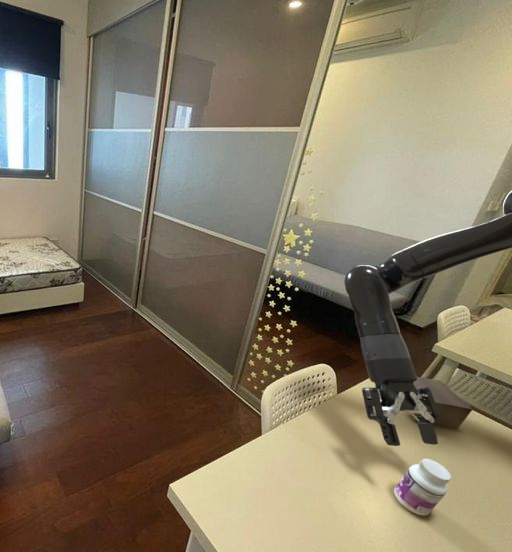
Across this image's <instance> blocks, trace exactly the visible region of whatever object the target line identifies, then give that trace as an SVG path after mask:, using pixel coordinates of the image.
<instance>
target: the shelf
mask: <svg viewBox="0 0 512 552" xmlns="http://www.w3.org/2000/svg"><path fill="white" fill-rule="evenodd" d="M413 384H414V386H415V387H428V388H430V390H431V393H432V395H433V398H434V400H435V403H436V406H437V408H438V411H439V413H440V416H441V418H440V419H436V420H434V423H433V426H434V427H435V426H436V427H441V428H445V429H451V430H456V431H457V430H458V429H459V428H460V427H461V426H462V424H463V423H464V422H465V420H466V419H467V418H468V417H469V415H470V414H471V413H472V411H473V410H474V409H473V408H472V407H471V406H470V405H469V404H468V403H466V402H465V401H464V400H463V399H462V398H461V397H460V396H459V395H458V394H456V393H455V391H452V389H450V387H448V386H447V385H446V384H445V383H444V382H442V380H438V379H432V378H426V377H420V376H417V380H416V381H414V382H413ZM426 407H427V409H428V412H431V409H430V407H429V406H426ZM420 415H421V414H420ZM410 419H411V420H412V421H413V423H414V422H415V423H420V422H418V421H417V420H416V419H415V418H414V416H413V415H412V414H410Z"/></svg>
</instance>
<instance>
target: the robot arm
mask: <svg viewBox="0 0 512 552" xmlns="http://www.w3.org/2000/svg"><path fill="white" fill-rule="evenodd" d="M502 211H503V216H500V217H498V218H495V219H493V220H489V221H486V222H484V223H481V224H478V225H474V226H471V227H467V228H463V229H459V230H455V231H452V232H451V231H450V232H448V233H443V234H440V235H437V236H433V237H431V238H428V239H425V240H423V241H421V242H417V243H416V244H413V245H411V246H409V247H407V248H404V249H401V250H399V251H397V252H395V253H393V254H392V255H391V256H389V257H388V258H387V259H386V260H385V261H384V262H382V263H380V264H377V265H376V266H371V265H366V264H362V265H360V264H359V265H357V266H354V267H352V268H350V269H349V270H348V271H347V273H346V274H345V277H344V287H345V291H346V293H347V295H348V298H349V301H350V304H351V307H352V309H353V312H354V313H353V314H354V323H355V326H356V329H357V330H356V331H357V333H358V337H359V340H360V350H361V353H362V357H363V360H364V364H365V367H366V370H367V374H368V378H369V381H370V382H371V383H374V387H362V388H361V393H362V397H363V402H364V407H365V412H366V417H367V419H368V420H370V421H374V422H377V423H378V425H379V426H380V430H381V434H382V437H383V441H384V442H385V444H387V445H388V446H393V447H400V446H401V441H400V437H399V435H398V432H397V427H396V424H394V422H395V419H396V416H397V415H398V414H400V412H402V411H403V412H407V413H408V414H410V415H413V416H414V418H415V419H416V420H417V421H418V422H416V424H417V427H418V430H419V431H418V432H419V434H420V437H421V440H422V442H423V443H424V444H426V445H433V446H434V445H435V446H436V445H439V442H438V436H437V433H436V429H435V426H434V425H433V423H434V420H436V419H440V418H441V416H440V413H439V411H438V408H437V406H436V403H435V400H434V398H433V395H432V393H431V390H430V388H428V387H415V386H414V384H413V382H414V381H416V380H417V377H418V376H417V373H416V370H415V367H414V364H413V361H412V358H411V355H410V352H409V349H408V346H407V343H406V341H405V340H404V338H403V335H402V334H401V330H400V326H399V323H398V320H397V318H396V315H395V313H394V311H393V309H392V303H391V298H390V294H392V293H394V292H396V291H397V290H400V289H402V288H403V287H405V286H407V285H409V284H412V283H414V282H418V281H421V280H423V279H426V278H429V277H431V276H434V275H436V274H439V273H442V272H444V271H446V270H450V269H452V268H454V267H457V266H460V265H463V264H466V263H468V262H471V261H474V260H477V259H480V258H483V257H486V256H490V255H493V254H496V253H499V252H503V251H506V250H510V249H512V190H511V191H510V192H509V193H508V194H507V195H506V196H505V199H504V201H503V206H502ZM426 406H429V407H430V409H431V412H428V409H427V407H426ZM420 414H421V415H420ZM419 422H420V423H419Z"/></svg>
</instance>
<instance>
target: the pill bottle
mask: <svg viewBox="0 0 512 552" xmlns="http://www.w3.org/2000/svg"><path fill="white" fill-rule="evenodd" d="M451 479H452V475H451V473H450V472H449V470H448V469H447V468H446V467H444V466H443V465H442V464H441V463H439V462H437V461H435V460H433V459H430V458H423V459H422V460H420V462H419V463H418V464H412V465H410V467H409V468H408V469H407V471H406V472H405V473H404V475H403V476H402V478H401V479H400V480H399V482H398V483H397V484H396V486H395V487H394V489H393V493H394V496H395V498H396V499H397V501H398V502H399V503H400V504H401V505H402V506H403V507H404V508H406V509H407V510H408V511H410V512H411V513H413V514H415V515H419V516H427V515H429V514H430V513H431V512H432V511H433V509H434V508H435V507H436V506H437V505H438V504H439V503H440V501H441V500H442V499H443V498H444V497H445V495H446V494H447V493H448V492H449V486H448V484H449V482H450V481H451Z"/></svg>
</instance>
